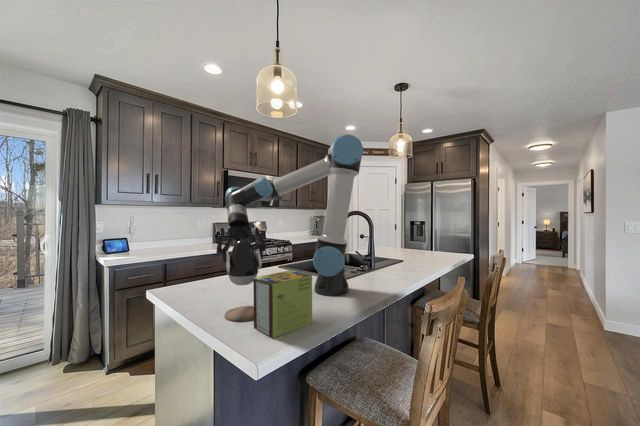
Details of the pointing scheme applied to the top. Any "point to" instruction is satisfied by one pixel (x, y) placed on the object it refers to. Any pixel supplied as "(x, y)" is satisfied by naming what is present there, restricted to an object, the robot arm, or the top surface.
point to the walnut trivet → (240, 314)
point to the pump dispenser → (243, 263)
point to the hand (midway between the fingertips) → (244, 267)
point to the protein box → (282, 302)
